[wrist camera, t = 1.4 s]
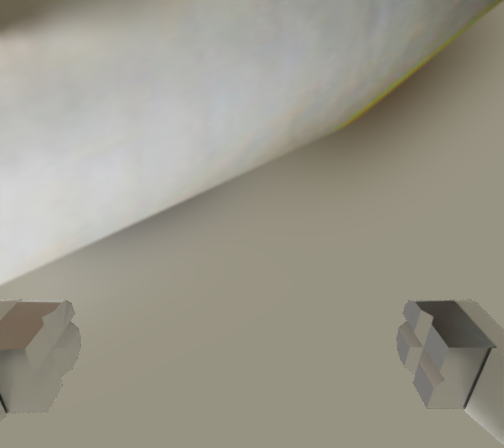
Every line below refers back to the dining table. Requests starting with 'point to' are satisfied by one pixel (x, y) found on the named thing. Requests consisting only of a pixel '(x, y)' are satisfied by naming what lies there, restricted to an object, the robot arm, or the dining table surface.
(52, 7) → the dining table surface
